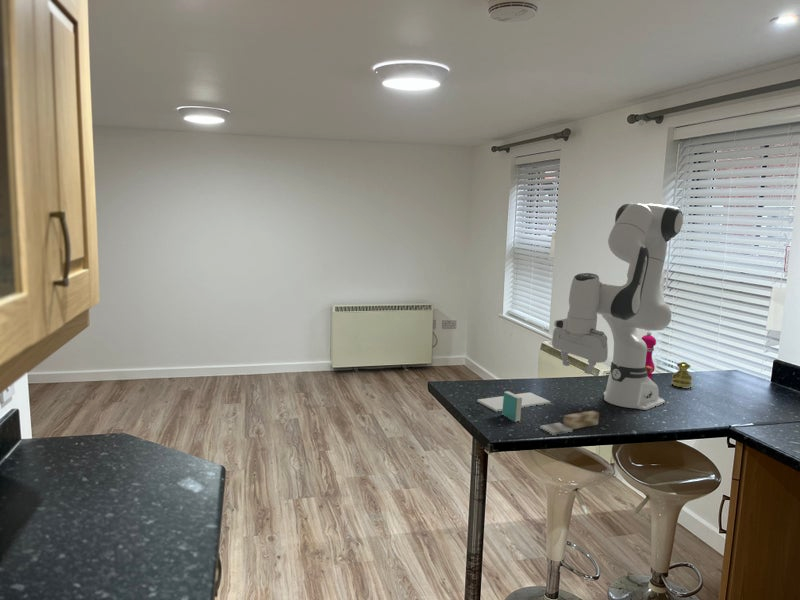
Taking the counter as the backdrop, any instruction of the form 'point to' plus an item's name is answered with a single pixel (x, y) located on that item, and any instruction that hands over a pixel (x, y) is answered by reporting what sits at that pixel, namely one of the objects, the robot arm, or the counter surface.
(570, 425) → the wooden handled scraper
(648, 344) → the pepper mill
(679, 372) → the gold ridged bell shape
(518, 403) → the tile
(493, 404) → the board
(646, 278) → the robot arm
